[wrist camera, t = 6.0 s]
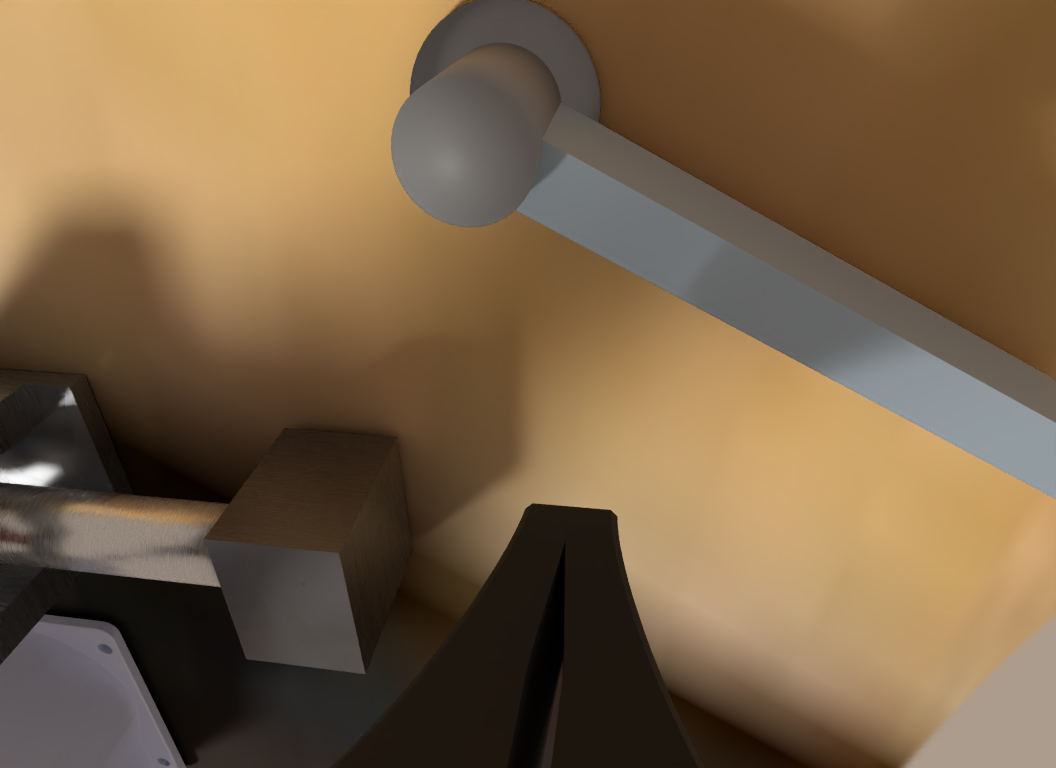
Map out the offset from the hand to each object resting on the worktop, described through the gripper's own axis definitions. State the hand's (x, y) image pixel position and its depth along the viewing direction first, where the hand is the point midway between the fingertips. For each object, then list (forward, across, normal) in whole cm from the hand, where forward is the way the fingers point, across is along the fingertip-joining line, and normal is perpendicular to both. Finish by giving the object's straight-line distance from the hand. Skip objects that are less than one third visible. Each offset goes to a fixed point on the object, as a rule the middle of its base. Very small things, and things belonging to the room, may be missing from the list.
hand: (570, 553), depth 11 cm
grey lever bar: (+6, -3, -3) cm, 7 cm away
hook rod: (+6, +12, +4) cm, 14 cm away
